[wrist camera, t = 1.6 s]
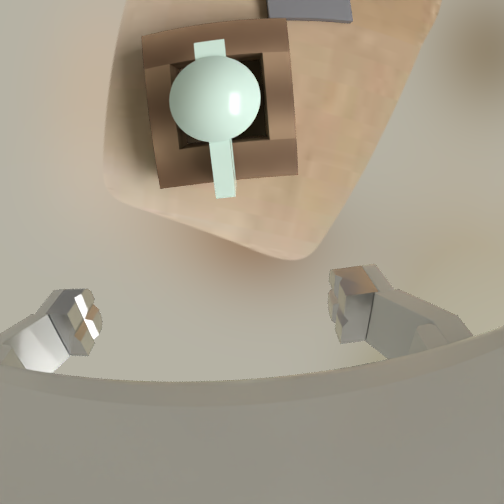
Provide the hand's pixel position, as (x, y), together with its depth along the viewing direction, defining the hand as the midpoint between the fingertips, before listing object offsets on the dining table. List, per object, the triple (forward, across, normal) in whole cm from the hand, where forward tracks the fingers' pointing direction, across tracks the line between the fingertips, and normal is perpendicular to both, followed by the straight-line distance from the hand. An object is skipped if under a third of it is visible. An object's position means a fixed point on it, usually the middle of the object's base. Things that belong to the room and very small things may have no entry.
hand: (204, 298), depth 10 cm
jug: (+21, 0, -5) cm, 22 cm away
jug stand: (+21, 0, -7) cm, 22 cm away
